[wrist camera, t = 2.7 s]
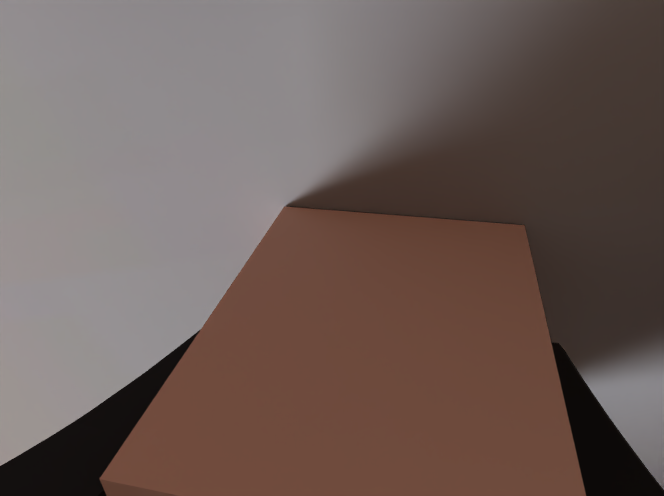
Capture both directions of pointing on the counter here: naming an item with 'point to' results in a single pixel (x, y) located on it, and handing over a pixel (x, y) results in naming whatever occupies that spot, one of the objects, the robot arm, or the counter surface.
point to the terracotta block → (364, 371)
